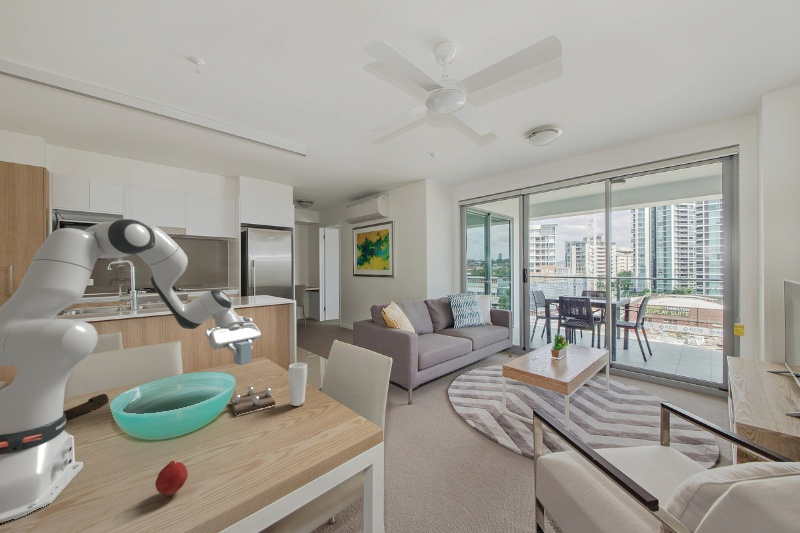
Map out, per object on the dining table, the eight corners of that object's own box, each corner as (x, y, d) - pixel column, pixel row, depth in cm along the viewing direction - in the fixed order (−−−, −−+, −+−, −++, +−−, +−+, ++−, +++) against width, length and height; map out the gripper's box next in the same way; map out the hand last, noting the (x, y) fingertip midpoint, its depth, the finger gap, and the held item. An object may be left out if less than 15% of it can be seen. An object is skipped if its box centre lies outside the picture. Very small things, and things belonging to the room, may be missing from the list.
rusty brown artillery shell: (49, 431, 95) (50, 416, 95) (39, 429, 96) (39, 415, 96) (114, 404, 114) (114, 392, 114) (105, 404, 114) (105, 391, 114)
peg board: (275, 407, 113) (275, 393, 113) (236, 416, 105) (236, 402, 105) (267, 395, 123) (267, 383, 123) (230, 403, 115) (231, 390, 115)
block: (251, 361, 123) (251, 342, 123) (240, 364, 119) (241, 344, 119) (244, 360, 125) (244, 341, 125) (233, 363, 121) (234, 343, 121)
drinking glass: (297, 409, 111) (298, 369, 111) (284, 406, 113) (284, 366, 114) (310, 402, 117) (311, 364, 117) (297, 399, 120) (297, 361, 120)
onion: (148, 504, 65) (149, 467, 66) (168, 485, 71) (169, 451, 71) (174, 504, 66) (175, 467, 66) (193, 485, 71) (193, 452, 71)
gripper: (207, 324, 116) (221, 353, 111) (254, 317, 134) (269, 342, 129) (200, 334, 118) (214, 363, 113) (248, 326, 136) (262, 351, 131)
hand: (243, 351), depth 121 cm, fingers closed on block, 4 cm apart
